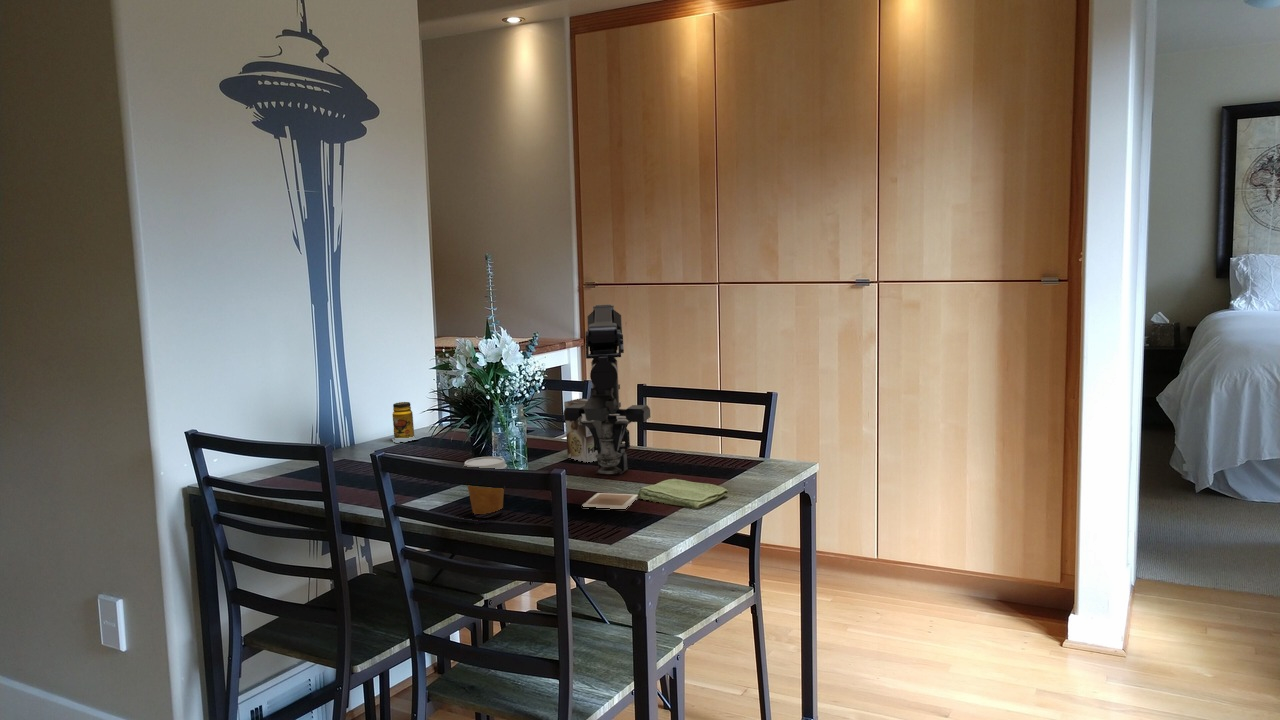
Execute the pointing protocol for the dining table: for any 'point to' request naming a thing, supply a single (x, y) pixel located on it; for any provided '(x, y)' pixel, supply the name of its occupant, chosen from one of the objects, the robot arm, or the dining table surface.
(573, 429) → the coffee box
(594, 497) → the coaster
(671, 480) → the washcloth
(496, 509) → the disposable coffee cup
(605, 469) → the salt shaker
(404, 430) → the condiment
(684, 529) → the dining table surface
